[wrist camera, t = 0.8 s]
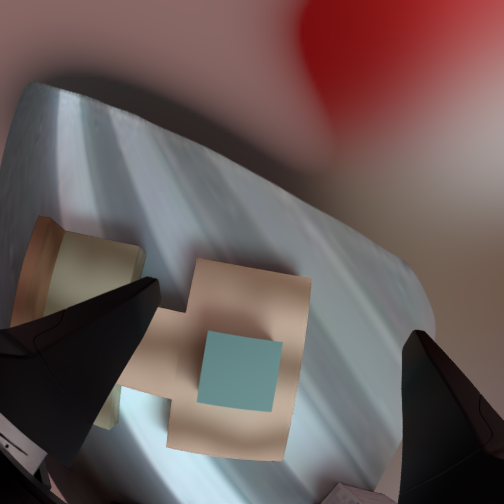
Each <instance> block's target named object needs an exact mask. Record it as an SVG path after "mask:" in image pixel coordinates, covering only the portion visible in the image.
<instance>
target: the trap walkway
mask: <svg viewBox="0 0 504 504" xmlns="http://www.w3.org/2000/svg"><path fill="white" fill-rule="evenodd" d="M145 258H146V254H145V253H144V251H143V250H142V249H141V248H140V246H136V245H131V244H126V243H121V242H116V241H111V240H107V239H102V238H97V237H92V236H88V235H83V234H78V233H74V232H69V231H65V230H64V229H63V228H62V227H60V226H59V225H58V224H57V223H56V222H55V221H53V220H52V219H51V218H49V217H44V216H38V219H37V222H36V224H35V227H34V230H33V233H32V236H31V239H30V242H29V245H28V248H27V252H26V255H25V259H24V262H23V266H22V270H21V274H20V278H19V282H18V286H17V291H16V296H15V301H14V306H13V312H12V318H11V325H10V328H11V327H14V326H17V325H20V324H24V323H27V322H30V321H33V320H36V319H39V318H42V317H45V316H48V315H50V314H53V313H55V312H58V311H60V310H63V309H66V308H68V307H70V306H73V305H75V304H78V303H80V302H83V301H85V300H88V299H90V298H93V297H96V296H98V295H101V294H103V293H106V292H108V291H111V290H113V289H116V288H118V287H121V286H124V285H126V284H129V283H131V282H134V281H136V280H139V279H140V278H141V274H142V270H143V266H144V262H145ZM311 283H312V279H311V278H306V277H300V276H294V275H289V274H283V273H277V272H272V271H266V270H261V269H255V268H250V267H244V266H239V265H233V264H228V263H223V262H217V261H212V260H207V259H202V258H197V261H196V265H195V270H194V275H193V279H192V284H191V289H190V294H189V299H188V304H187V310H186V313H182V312H178V311H173V310H169V309H164V308H160V307H158V308H157V310H156V312H155V315H154V317H153V319H152V321H151V323H150V325H149V327H148V329H147V331H146V333H145V335H144V337H143V339H142V341H141V342H140V344H139V345H138V347H137V349H136V350H135V352H134V354H133V355H132V357H131V359H130V360H129V362H128V364H127V365H126V367H125V369H124V370H123V372H122V374H121V376H120V377H119V379H118V381H117V382H116V384H115V386H114V388H113V389H112V391H111V393H110V395H109V396H108V398H107V400H106V402H105V403H104V405H103V407H102V409H101V411H100V412H99V414H98V416H97V418H96V420H95V422H94V423H93V424H94V425H97V426H99V427H102V428H104V429H107V430H109V429H111V428H112V427H113V426H114V425H115V424H117V423H118V417H119V405H120V394H121V386H124V387H128V388H131V389H134V390H138V391H141V392H145V393H148V394H152V395H156V396H160V397H164V398H168V399H172V402H171V410H170V418H169V426H168V435H167V445H166V447H168V448H172V449H177V450H181V451H186V452H192V453H197V454H203V455H210V456H217V457H225V458H234V459H245V460H260V461H283V458H284V454H285V449H286V444H287V440H288V435H289V430H290V425H291V420H292V415H293V410H294V404H295V399H296V393H297V387H298V381H299V375H300V369H301V362H302V356H303V349H304V342H305V334H306V327H307V319H308V310H309V302H310V292H311ZM208 331H214V332H219V333H225V334H231V335H237V336H243V337H249V338H256V339H263V340H270V341H278V342H283V345H282V352H281V358H280V365H279V371H278V377H277V383H276V389H275V395H274V401H273V406H272V412H264V411H254V410H244V409H236V408H229V407H222V406H215V405H209V404H203V403H198V402H197V396H198V390H199V383H200V377H201V370H202V364H203V358H204V352H205V346H206V340H207V334H208Z"/></svg>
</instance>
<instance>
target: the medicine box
mask: <svg viewBox="0 0 504 504" xmlns="http://www.w3.org/2000/svg"><path fill="white" fill-rule="evenodd" d="M320 504H397V503H396V502H395V501H393V500H392V499H390V498H389V497H387V496H386V495H384V494H381V493H376V492H372V491H367V490H363V489H359V488H355V487H351V486H347V485H344V484H341V483H338V484H337V485H336V486H335V487H334V489H333V490H332V491H331V492H330V493H329V495H328V496H327V497H326V498H325V499H324V500H323V501H322V502H321V503H320Z"/></svg>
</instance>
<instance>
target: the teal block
mask: <svg viewBox="0 0 504 504" xmlns="http://www.w3.org/2000/svg"><path fill="white" fill-rule="evenodd" d="M282 345H283V342H278V341H270V340H263V339H256V338H249V337H243V336H237V335H231V334H225V333H219V332H214V331H208V334H207V340H206V346H205V352H204V358H203V364H202V370H201V377H200V383H199V390H198V396H197V402H198V403H203V404H209V405H215V406H222V407H229V408H236V409H244V410H254V411H264V412H272V406H273V401H274V395H275V389H276V383H277V377H278V371H279V365H280V358H281V352H282Z"/></svg>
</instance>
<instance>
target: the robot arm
mask: <svg viewBox="0 0 504 504" xmlns="http://www.w3.org/2000/svg"><path fill="white" fill-rule="evenodd" d="M160 301H161V293H160V286H159V281H158V279H156V278H153V277H149V276H147V277H144V278H142V279H139V280H136V281H134V282H131V283H129V284H126V285H124V286H121V287H118V288H116V289H113V290H111V291H108V292H106V293H103V294H101V295H98V296H96V297H93V298H90V299H88V300H85V301H83V302H80V303H78V304H75V305H73V306H70V307H68V308H66V309H63V310H60V311H58V312H55V313H53V314H50V315H48V316H45V317H42V318H39V319H36V320H33V321H30V322H27V323H24V324H20V325H17V326H14V327H11V328H8V329H0V504H67V503H65V502H64V501H63V500H61V499H60V498H58V497H57V496H56V495H55V494H54V493H52V492H51V491H50V489H51V483H50V480H49V476H48V472H47V467H46V463H45V460H44V458H45V456H46V455H47V453H48V454H49V455H51V456H52V457H53V458H55V459H56V460H58V461H59V462H61V463H62V464H64V465H65V466H67V467H68V468H70V467H71V466H72V464H73V462H74V460H75V458H76V456H77V454H78V452H79V450H80V448H81V446H82V444H83V443H84V441H85V439H86V437H87V435H88V433H89V431H90V429H91V427H92V425H93V423H94V422H95V420H96V418H97V416H98V414H99V412H100V411H101V409H102V407H103V405H104V403H105V402H106V400H107V398H108V396H109V395H110V393H111V391H112V389H113V388H114V386H115V384H116V382H117V381H118V379H119V377H120V376H121V374H122V372H123V370H124V369H125V367H126V365H127V364H128V362H129V360H130V359H131V357H132V355H133V354H134V352H135V350H136V349H137V347H138V345H139V344H140V342H141V341H142V339H143V337H144V335H145V333H146V331H147V329H148V327H149V325H150V323H151V321H152V319H153V317H154V315H155V312H156V310H157V308H158V306H159V304H160ZM401 390H402V416H403V447H402V469H401V481H400V491H399V493H400V494H399V499H398V504H504V420H503V419H502V418H501V417H500V416H499V415H498V413H497V412H496V411H495V410H494V409H493V408H492V407H491V405H490V404H489V403H488V402H487V401H486V399H485V398H484V397H483V396H482V395H481V394H480V392H479V391H478V390H477V389H476V387H475V386H474V385H473V384H472V383H471V382H470V380H469V379H468V378H467V377H466V376H465V375H464V374H463V372H462V371H461V370H460V369H459V368H458V367H457V366H456V364H455V363H454V362H453V361H452V360H451V359H450V358H449V357H448V356H447V354H445V352H444V351H443V350H442V349H441V348H440V347H439V346H438V345H437V344H436V343H435V342H434V341H433V339H432V338H431V337H430V336H429V335H428V334H427V333H426V332H425V331H422V330H414V331H412V333H411V334H410V336H409V338H408V340H407V341H406V343H405V345H404V347H403V350H402V388H401ZM110 504H119V503H116V502H111V503H110Z"/></svg>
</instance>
